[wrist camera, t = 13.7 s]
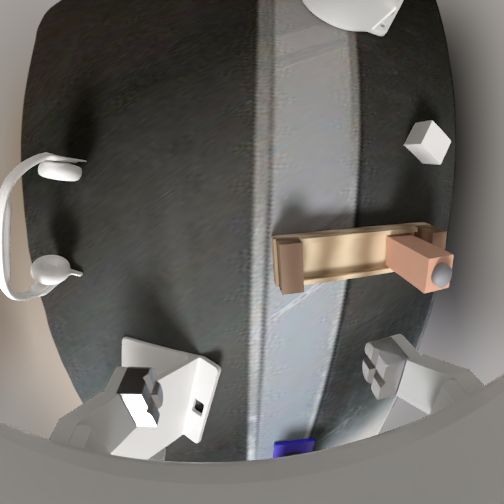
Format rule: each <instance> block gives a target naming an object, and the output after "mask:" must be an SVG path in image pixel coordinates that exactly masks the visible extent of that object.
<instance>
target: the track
mask: <svg viewBox="0 0 504 504" xmlns="http://www.w3.org/2000/svg"><path fill="white" fill-rule="evenodd" d="M405 234H411V235H413V236H415V237H418V238H420V239H422V240H424V241H426V242H428V243H431V244H433V245H435V246H437V247H439V248H441V249H443V250H445V244H446V231H444V230H441V229H438V228H436V227H433V226H431V224H428V223H426V222H417V223H405V224H393V225H381V226H370V227H359V228H348V229H337V230H327V231H316V232H306V233H296V234H286V235H276V236H271V240H272V254H273V268H274V281H275V284H276V286H279V287H280V290H281V292H282V295H284V294H292V293H300V292H304V285H308V284H316V283H323V282H330V281H337V280H344V279H351V278H358V277H364V276H370V275H377V274H383V273H389V272H395V271H393V270H392V269H390V268H389V267H388V266H386V265H385V261H386V243H387V236H396V235H405Z"/></svg>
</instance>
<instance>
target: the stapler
mask: <svg viewBox="0 0 504 504" xmlns="http://www.w3.org/2000/svg"><path fill="white" fill-rule="evenodd" d="M314 443H315V438H309V439H302V440H295V441H286V442H276V443H274V452H273V458H279V457H286V456H292V455H298V454H304V453H309V452H312V450H313V447H314Z"/></svg>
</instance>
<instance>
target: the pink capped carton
mask: <svg viewBox="0 0 504 504" xmlns="http://www.w3.org/2000/svg"><path fill="white" fill-rule="evenodd" d="M453 256H454V255H453V254H451V253H449V252H447V251H445V250H443V249H441V248H439V247H437V246H435V245H433V244H431V243H428V242H426V241H424V240H422V239H420V238H418V237H415V236H413V235H411V234H405V235H396V236H387V243H386V261H385V265H386V266H388V267H389V268H390V269H392V270H393V271H395V272H396V273H397V274H399V275H400V276H402V277H403V278H404V279H406V280H407V281H408V282H410V283H411V284H412V285H414V286H415V287H416V288H418V289H419V290H420V291H422V292H423V293H428V292H432V291H436V290H440V289H444V288H448V287H449V283H450V280H451V277H452V263H453Z"/></svg>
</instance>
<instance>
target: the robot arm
mask: <svg viewBox="0 0 504 504" xmlns="http://www.w3.org/2000/svg"><path fill="white" fill-rule="evenodd" d="M302 1H303V3H304V4H305V5H306V7H307V8H308V9H309V10H310V11H311V12H312V13H313V14H315V15H316V16H317V17H318V18H320V19H321V20H323V21H325V22H327V23H328V24H330V25H333V26H335V27H338V28H341V29H344V30H349V31H366V32H370V33H372V34H375V35H378V36H384V35H385V34H386V33H387V31H388V29H389V27H390V25H391V23H392V21H393V19H394V18H395V16H396V14H397V12H398V10H399V8H400V6H401V4H402V2H403V0H302ZM381 25H382V26H383V27H382V26H381ZM365 352H366V354H367V356H366V357H365V358H364V360H363V366H362V367H363V374H364V377H365V379H366V381H367V382H369V383H371V384H372V387H371V390H372V391H373V393H374V395H375V396H376V398H377V400H379V399H382V398H386V397H389V396H393V395H396V396H398V397H400V398H402V399H403V400H405V401H407V402H408V403H410V404H412V405H413V406H415V407H417V408H418V409H420V410H422V411H424V412H425V413H427V414H429V415H428V416H425V417H423V418H421V419H418V420H416V421H414V422H411V423H409V424H406V425H404V426H401V427H399V428H396V429H393V430H390V431H387V432H384V433H381V434H378V435H375V436H372V437H369V438H366V439H363V440H359V441H356V442H352V443H348V444H345V445H341V446H337V447H333V448H328V449H324V450H319V451H314V452H309V453H304V454H298V455H292V456H286V457H279V458H271V459H262V460H252V461H238V462H212V463H196V462H170V461H156V460H146V459H137V458H130V457H123V456H117V455H111V453H112V452H113V451H114V450H115V449H116V448H117V447H118V446H119V445H120V444H121V443H122V442H123V441H124V440H125V439H126V438H127V437H128V436H129V434H130V433H131V432H132V431H133V430H134V429H135V428H136V427H137V426H153V427H157V425H158V420H159V416H160V413H159V411H158V409H159V408H160V407H161V406H162V404H163V391H162V387H161V384H160V383H159V382H158V381H156V377H157V374H156V371H155V369H154V368H152V367H122V366H118V367H117V368H116V369H115V371H114V373H113V375H112V377H111V379H110V381H109V383H108V385H107V387H106V389H105V391H104V393H102V392H100V393H99V394H97V395H96V396H94V397H93V398H91V399H90V400H88V401H87V402H85V403H84V404H82V405H81V406H79V407H77V408H76V409H74V410H73V411H71V412H70V413H68V414H67V415H65V416H63V417H62V418H60V419H59V421H58V423H57V425H56V427H55V429H54V431H53V432H52V434H51V436H50V438H49V439H46V438H43V437H40V436H37V435H34V434H32V433H29V432H26V431H24V430H21V429H18V428H16V427H13V426H11V425H8V424H6V423H4V422H2V421H0V504H504V374H502V375H501V376H499V377H498V378H496V379H495V380H493V381H491V382H490V383H488V384H487V385H485V386H484V385H483V384H482V383H481V382H480V380H479V379H478V378H477V377H476V376H475V375H474V374H473V373H472V372H471V371H470V370H469V369H466V368H463V367H459V366H456V365H453V364H450V363H448V362H444V361H441V360H439V359H436V358H433V357H430V356H427V355H424V354H423V355H420V354H419V353H418V352H417V351H416V349H415V348H414V347H413V346H412V345H411V344H410V343H409V342H408V341H407V339H406V338H405V337H404V336H403V335H401V334H398V335H394V336H391V337H389V338H384V339H380V340H376V341H372V342H368V343H367V344H366V346H365Z"/></svg>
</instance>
